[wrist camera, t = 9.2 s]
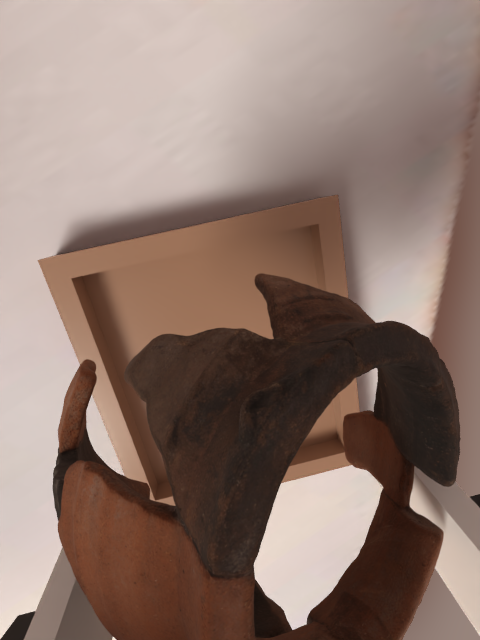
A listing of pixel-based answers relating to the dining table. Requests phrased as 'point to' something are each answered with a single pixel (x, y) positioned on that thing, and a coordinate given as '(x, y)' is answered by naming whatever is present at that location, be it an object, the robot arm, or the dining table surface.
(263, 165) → the dining table surface
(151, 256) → the serving tray
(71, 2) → the dining table surface
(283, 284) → the pottery mug
